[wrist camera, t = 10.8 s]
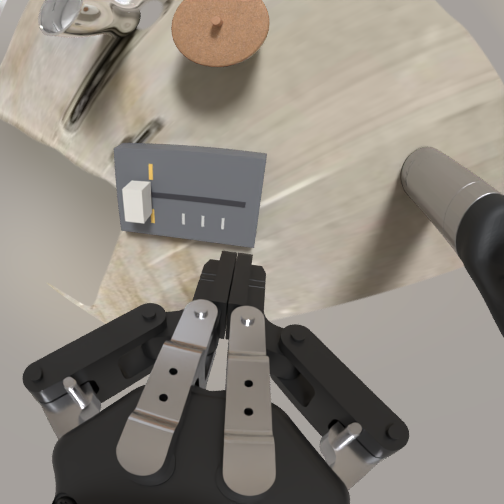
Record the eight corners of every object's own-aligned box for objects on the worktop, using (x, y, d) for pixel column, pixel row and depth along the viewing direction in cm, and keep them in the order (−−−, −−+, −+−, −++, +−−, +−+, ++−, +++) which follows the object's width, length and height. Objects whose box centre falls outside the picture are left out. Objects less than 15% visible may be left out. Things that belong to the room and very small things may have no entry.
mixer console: (266, 153, 40) (266, 159, 37) (255, 237, 48) (253, 248, 45) (123, 143, 40) (113, 148, 37) (128, 221, 47) (121, 230, 45)
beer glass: (122, 48, 31) (58, 47, 19) (95, 28, 29) (28, 24, 16) (153, 12, 28) (96, -8, 16) (123, -7, 25) (62, -27, 13)
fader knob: (152, 179, 39) (141, 190, 36) (153, 210, 42) (144, 223, 39) (134, 178, 39) (122, 189, 36) (136, 208, 42) (125, 221, 39)
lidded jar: (174, 29, 30) (147, 19, 22) (239, -14, 26) (229, -37, 18) (219, 83, 34) (203, 85, 27) (286, 42, 30) (290, 31, 23)
